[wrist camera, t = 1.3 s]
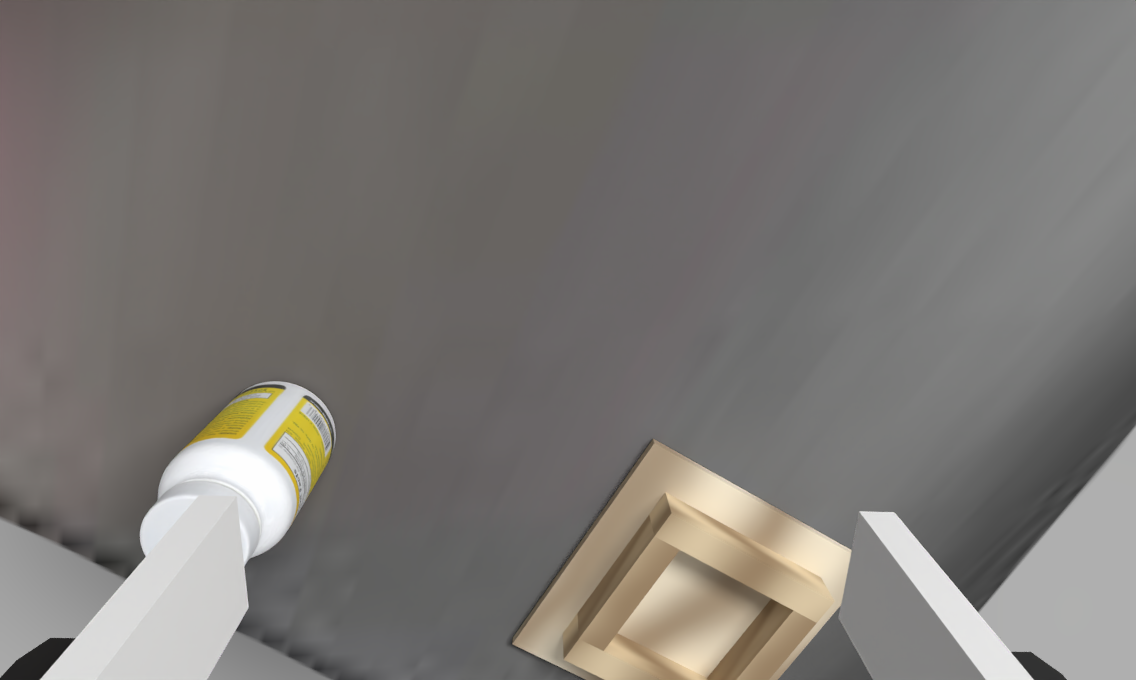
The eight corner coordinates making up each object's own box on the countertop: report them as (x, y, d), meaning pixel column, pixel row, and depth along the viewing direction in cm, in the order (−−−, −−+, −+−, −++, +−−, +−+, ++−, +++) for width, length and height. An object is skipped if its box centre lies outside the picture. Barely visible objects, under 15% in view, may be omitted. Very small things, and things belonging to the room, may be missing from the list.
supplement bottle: (211, 449, 37) (97, 568, 28) (252, 359, 35) (146, 451, 26) (312, 495, 38) (235, 624, 28) (356, 409, 36) (290, 515, 27)
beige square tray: (512, 637, 41) (510, 671, 38) (653, 438, 37) (660, 461, 35) (720, 738, 43) (730, 775, 41) (869, 560, 40) (890, 589, 37)
